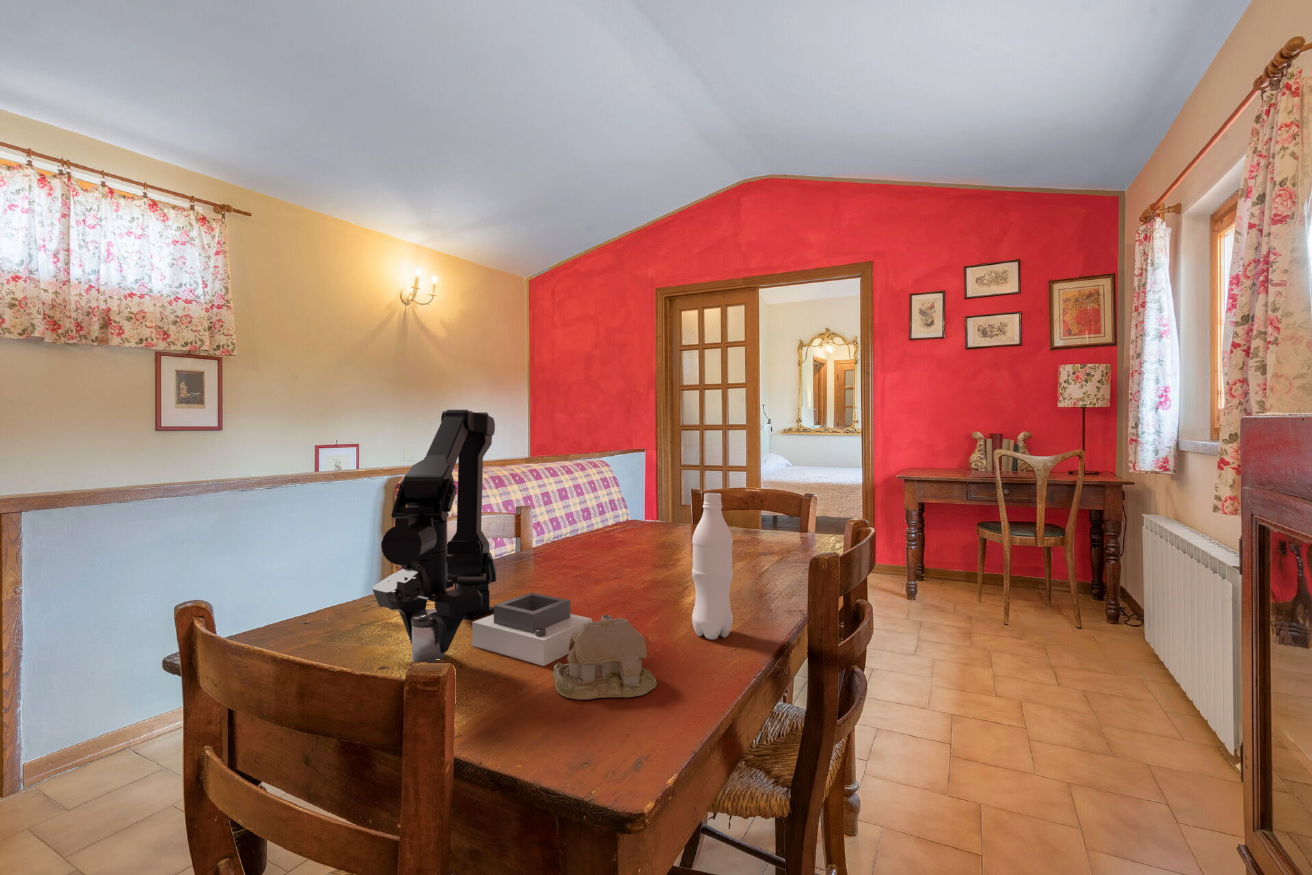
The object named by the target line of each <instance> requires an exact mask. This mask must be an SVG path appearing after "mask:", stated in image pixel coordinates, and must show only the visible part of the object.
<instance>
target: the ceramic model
mask: <svg viewBox="0 0 1312 875" xmlns="http://www.w3.org/2000/svg"><path fill="white" fill-rule="evenodd" d="M568 650H569V652H570V653H569V654H567V656H566V661H567V662H568V663H565V664H562V662H557V663H556V664H555V665H553V672H552V673H553V674H552V675H553V678H554V680H553V682H554V685H555V689H556V691H557V693H558V694H559V695H561V696H563V697H565V698H568V699H573V700H592V699H599V698H605V699H606V698H632V697H639V696H643V695H646V694H648V692H651V691H652V690H654V689H655V688H657V685H658V682H657V679H656V677H655V676H654V675H653V674H652V672H651V671H650V670H649V669H646V668H645V667H642V666H643V663H642V661H643V660H644V659H646V657H647V655H648V653H647V646H646V641H645V638H644V636H643V634H641V633H640V632H639V631H638V630H636V629H635V627H634V626H633V625H632V624H631V623H630V622H629V620H628V619H627V618H623V617H621V618H614V619H613V618H612V617H611V615H610V614H603V615H602V616H601V619H600V621H592V622H590V623H586V624H583V626H582V627H581V628H580V629H579V630H577V631H576V632H575V633H573V635H572V636H571V638H570V643H569V647H568Z"/></svg>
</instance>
